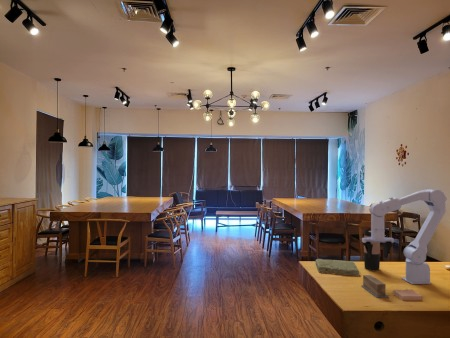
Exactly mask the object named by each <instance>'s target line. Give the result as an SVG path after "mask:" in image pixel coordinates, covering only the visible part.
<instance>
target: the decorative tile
mask: <svg viewBox="0 0 450 338" xmlns="http://www.w3.org/2000/svg"><path fill="white" fill-rule="evenodd" d="M315 267H316V269H317V272H318V273H320V274H331V273H335V274H334V275H339V276H357V277H360V270H359V268H358V267H357V264H356V263H355V262H354V261H352V260H339V259H338V260H337V259H323V258H317V259H315Z"/></svg>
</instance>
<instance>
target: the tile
mask: <svg viewBox="0 0 450 338" xmlns="http://www.w3.org/2000/svg"><path fill="white" fill-rule="evenodd" d="M392 294H393V295H394V296H396V297H397V298H398V299H400V300H401V301H423V295H421V294H420V293H418V292H416V291H414V290H413V289H393V290H392Z"/></svg>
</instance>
